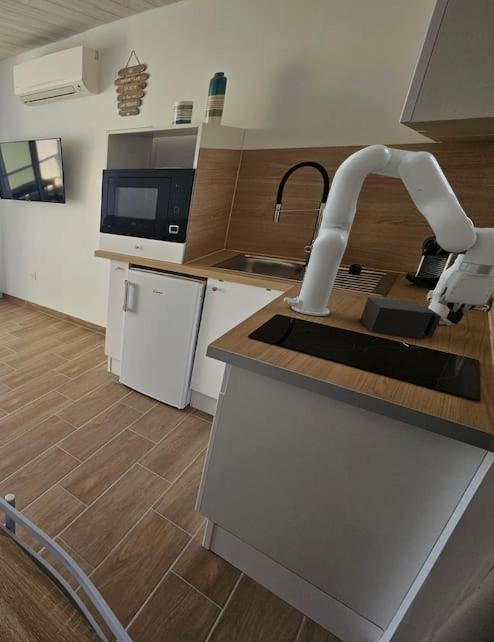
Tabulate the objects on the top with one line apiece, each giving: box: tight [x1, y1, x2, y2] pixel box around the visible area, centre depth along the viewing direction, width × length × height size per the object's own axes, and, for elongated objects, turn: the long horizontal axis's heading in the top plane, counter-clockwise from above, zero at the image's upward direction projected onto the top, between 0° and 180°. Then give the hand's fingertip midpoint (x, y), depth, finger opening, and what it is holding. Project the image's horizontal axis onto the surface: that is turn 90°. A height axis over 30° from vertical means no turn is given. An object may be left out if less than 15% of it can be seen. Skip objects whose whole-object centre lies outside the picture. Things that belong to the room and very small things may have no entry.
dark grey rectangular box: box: [359, 296, 433, 339], centre depth 129 cm, size 14×12×9 cm
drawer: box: [422, 305, 452, 338], centre depth 127 cm, size 17×11×7 cm, turn 66°
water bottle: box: [427, 253, 465, 326], centre depth 132 cm, size 7×7×25 cm
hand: (451, 322), depth 124 cm, fingers closed
